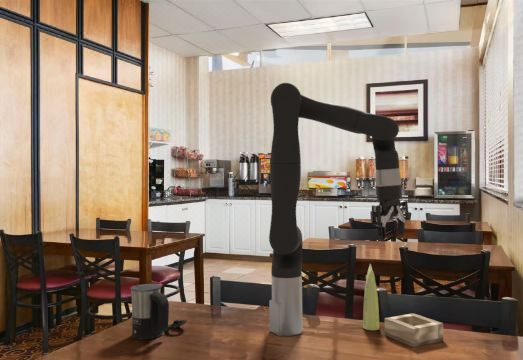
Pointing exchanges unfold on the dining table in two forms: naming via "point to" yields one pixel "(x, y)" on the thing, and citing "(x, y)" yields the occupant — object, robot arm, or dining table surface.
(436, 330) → the socket block
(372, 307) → the tube
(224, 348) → the dining table surface
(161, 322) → the milk frother
